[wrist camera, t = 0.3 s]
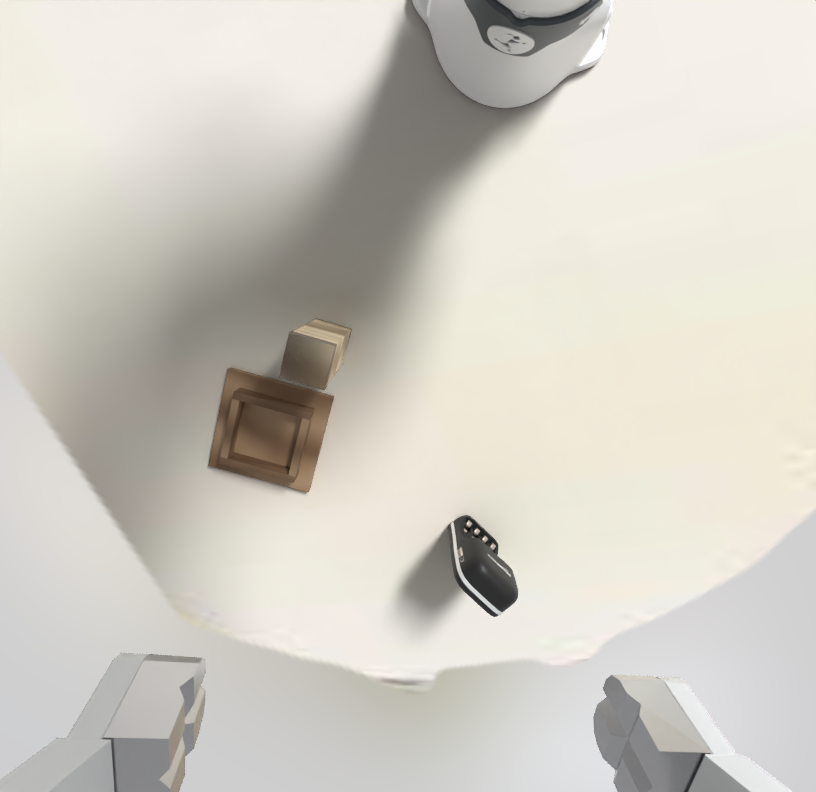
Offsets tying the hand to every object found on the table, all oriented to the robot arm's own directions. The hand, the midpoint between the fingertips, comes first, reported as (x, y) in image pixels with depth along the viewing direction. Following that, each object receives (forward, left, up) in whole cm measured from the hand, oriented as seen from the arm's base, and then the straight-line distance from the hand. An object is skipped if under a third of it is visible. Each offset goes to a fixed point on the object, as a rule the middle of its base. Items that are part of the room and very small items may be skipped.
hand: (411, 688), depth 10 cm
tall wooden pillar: (+2, -9, -46) cm, 47 cm away
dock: (+14, -13, -46) cm, 50 cm away
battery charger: (+20, +14, -46) cm, 52 cm away
